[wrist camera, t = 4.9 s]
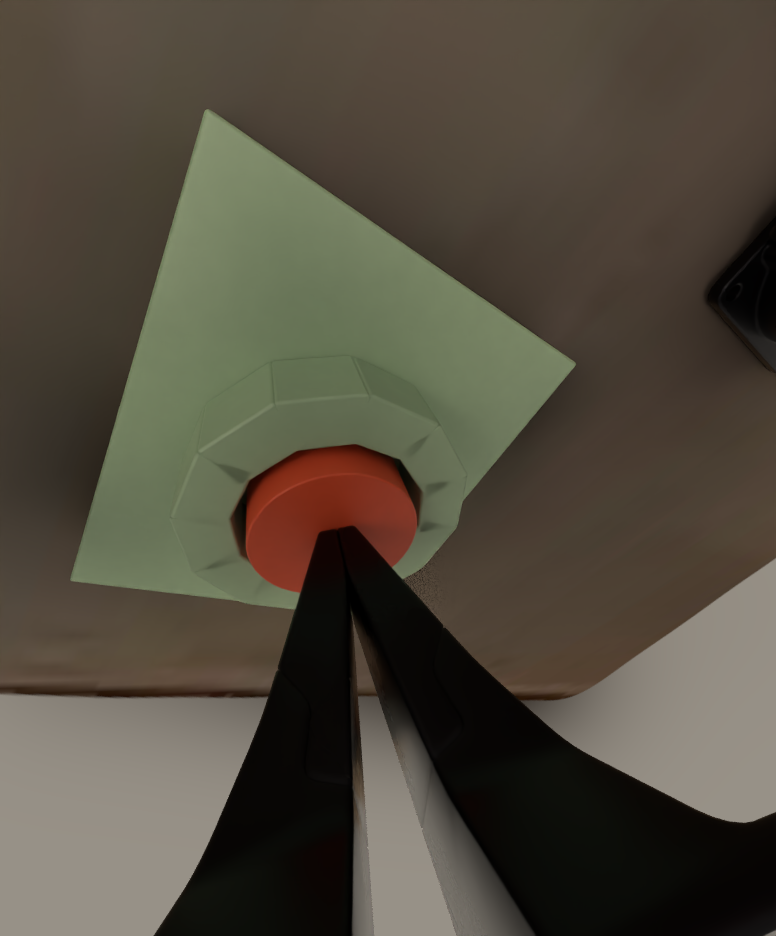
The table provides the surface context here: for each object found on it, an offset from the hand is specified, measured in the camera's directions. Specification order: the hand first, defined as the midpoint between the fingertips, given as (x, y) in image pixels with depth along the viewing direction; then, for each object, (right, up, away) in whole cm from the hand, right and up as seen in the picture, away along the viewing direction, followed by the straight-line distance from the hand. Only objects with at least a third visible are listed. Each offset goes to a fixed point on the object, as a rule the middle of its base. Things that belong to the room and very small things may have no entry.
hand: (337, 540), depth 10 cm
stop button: (-1, +1, +2) cm, 2 cm away
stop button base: (-1, +3, +3) cm, 5 cm away
